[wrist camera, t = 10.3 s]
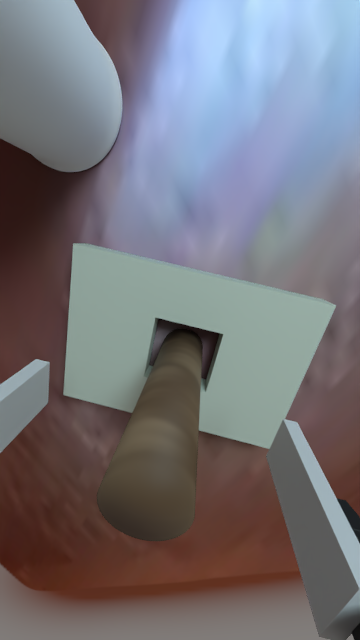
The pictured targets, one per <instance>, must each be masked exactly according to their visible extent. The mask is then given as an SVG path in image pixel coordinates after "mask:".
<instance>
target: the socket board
mask: <svg viewBox="0 0 360 640" xmlns="http://www.w3.org/2000/svg"><path fill="white" fill-rule="evenodd" d="M335 307H336V305H334V304H332V303H330V302H327V301H325V300H323V299H319V298H315V297H311V296H306V295H302V294H298V293H294V292H289V291H285V290H281V289H277V288H273V287H268V286H264V285H260V284H256V283H251V282H247V281H243V280H239V279H234V278H230V277H226V276H222V275H218V274H213V273H209V272H205V271H201V270H196V269H192V268H188V267H184V266H179V265H175V264H171V263H167V262H162V261H158V260H154V259H150V258H146V257H141V256H137V255H133V254H129V253H124V252H120V251H116V250H112V249H107V248H103V247H99V246H95V245H90V244H86V243H82V244H73V256H72V272H71V287H70V302H69V317H68V333H67V348H66V363H65V378H64V394H63V395H65V396H69V397H73V398H77V399H81V400H84V401H88V402H92V403H96V404H100V405H104V406H107V407H111V408H115V409H119V410H123V411H127V412H130V413H132V412H133V410H134V408H135V406H136V403H137V401H138V399H139V397H140V394H141V392H142V390H143V388H144V385H145V383H146V381H147V379H148V376H149V374H150V372H151V370H152V367H153V366H150V365H149V364H150V359H151V354H152V349H153V344H154V339H155V334H156V329H157V324H158V319H159V318H160V319H164V320H168V321H172V322H176V323H180V324H184V325H188V326H192V327H196V328H200V329H205V330H209V331H213V332H217V333H220V334H219V338H218V341H217V345H216V348H215V351H214V355H213V358H212V361H211V365H210V368H209V372H208V375H207V378H206V379H202V378H201V392H200V413H199V431H203V432H207V433H211V434H215V435H218V436H222V437H226V438H230V439H234V440H238V441H241V442H245V443H249V444H253V445H257V446H260V447H264V448H268V449H270V447H271V445H272V442H273V440H274V438H275V436H276V434H277V431H278V429H279V427H280V425H281V423H282V420H283V419H285V417H286V415H287V413H288V411H289V409H290V406H291V404H292V402H293V400H294V398H295V395H296V393H297V391H298V389H299V387H300V384H301V382H302V380H303V378H304V376H305V373H306V371H307V369H308V367H309V364H310V362H311V360H312V358H313V356H314V353H315V351H316V349H317V347H318V345H319V342H320V340H321V338H322V336H323V334H324V331H325V329H326V327H327V325H328V323H329V320H330V318H331V316H332V314H333V312H334V309H335Z"/></svg>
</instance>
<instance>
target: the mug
mask: <svg viewBox="0 0 360 640" xmlns="http://www.w3.org/2000/svg"><path fill="white" fill-rule="evenodd" d="M121 119H122V92H121V86H120V82H119V78H118V75H117V72H116V69H115V67H114V64H113V62H112V60H111V58H110V57H109V55H108V53H107V52H106V50H105V49H104V47H103V46H102V45H101V43H100V42H99V41H98V40H97V39H96V38H95V37H94V35H93V33H92V32H91V30H90V28H89V26H88V25H87V23H86V21H85V19H84V17H83V16H82V14H81V12H80V10H79V8H78V7H77V5H76V3H75V1H74V0H0V139H2V140H4V141H6V142H8V143H10V144H12V145H14V146H16V147H18V148H20V149H22V150H24V151H26V152H28V153H30V154H32V155H33V156H34V157H35V158H36V159H37V160H39V161H40V162H42V163H43V164H45V165H46V166H48V167H50V168H53V169H55V170H59V171H63V172H79V171H83V170H86V169H89V168H91V167H93V166H94V165H96V164H97V163H99V162H100V161H101V160H102V159H103V158H104V157H105V156H106V155H107V153H108V152H109V151H110V149H111V148H112V146H113V144H114V142H115V140H116V138H117V135H118V132H119V129H120V125H121Z"/></svg>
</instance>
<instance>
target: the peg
mask: <svg viewBox="0 0 360 640" xmlns="http://www.w3.org/2000/svg"><path fill="white" fill-rule="evenodd" d="M202 350H203V345H202V341H201V339H200V337H199V336H198V335H197V334H196V333H195V332H193V331H191V330H189V329H184V328H181V329H176V330H173V331H172V332H170V333H169V334H168V335H167V336H166V338H165V340H164V342H163V345H162V347H161V349H160V351H159V354H158V356H157V358H156V361H155V363H154V365H153V367H152V370H151V372H150V374H149V376H148V379H147V381H146V383H145V385H144V388H143V390H142V392H141V394H140V397H139V399H138V401H137V403H136V406H135V408H134V410H133V412H132V415H131V417H130V419H129V422H128V424H127V426H126V428H125V431H124V433H123V435H122V437H121V440H120V442H119V444H118V446H117V449H116V451H115V453H114V455H113V458H112V460H111V462H110V464H109V467H108V469H107V471H106V473H105V476H104V478H103V480H102V483H101V485H100V487H99V489H98V493H97V503H98V507H99V509H100V511H101V513H102V515H103V516H104V518H105V519H106V520H107V521H108V522H109V523H110V524H111V525H112V526H113V527H115V528H116V529H118V530H119V531H121V532H123V533H124V534H126V535H129V536H131V537H134V538H137V539H142V540H147V541H164V540H169V539H173V538H176V537H178V536H180V535H182V534H183V533H185V532H186V531H187V530H188V529H189V528H190V526H191V525H192V523H193V520H194V516H195V497H196V476H197V455H198V434H199V413H200V392H201V371H202Z"/></svg>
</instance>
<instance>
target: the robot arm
mask: <svg viewBox="0 0 360 640" xmlns="http://www.w3.org/2000/svg"><path fill="white" fill-rule="evenodd" d="M49 364H50V362H46V361H42V360H38V359H36V360H34V361H33V362H31V363H30V364H29V365H27V366H26V367H24V368H23V369H22V370H20V371H19V372H17V373H16V374H15V375H13V376H12V377H10V378H9V379H8V380H6V381H5V382H3V383H2V384H1V385H0V453H1V452H2V451H3V449H4V448H5V447H6V446H7V445H8V444H9V443H10V442H11V441H12V440H13V439H14V438H15V437H16V436H17V435H18V434H19V433H20V432H21V431H22V430H23V428H24V427H25V426H26V425H27V424H28V423H29V422H30V421H31V420H32V419H33V418H34V417H35V416H36V415H37V414H38V413H39V412H40V411H41V410H42V409H43V407H44V406H45V405H46V404H47V403H48V391H49ZM266 457H267V460H268V464H269V467H270V471H271V474H272V477H273V481H274V484H275V488H276V491H277V495H278V498H279V501H280V505H281V508H282V512H283V515H284V518H285V522H286V525H287V529H288V532H289V535H290V539H291V542H292V546H293V549H294V552H295V556H296V559H297V563H298V566H299V570H300V573H301V576H302V580H303V583H304V586H305V590H306V593H307V597H308V600H309V604H310V606H311V610H312V614H313V617H314V621H315V624H316V627H317V631H318V634H319V637H323V638H327V639H331V640H346V639H347V638H348V637H349V636H350V635H351V634H352V635H353V637H354V640H360V518H359V516H358V515H357V513H356V512H355V511H354V510H353V509H352V507H351V506H350V505H349V504H348V503H347V502H346V501H345V500H341V499H337V498H336V497H335V495H334V493H333V491H332V489H331V487H330V485H329V483H328V481H327V479H326V477H325V475H324V474H323V472H322V470H321V468H320V466H319V464H318V462H317V460H316V458H315V456H314V454H313V452H312V450H311V448H310V446H309V444H308V443H307V441H306V439H305V437H304V435H303V433H302V431H301V429H300V427H299V425H298V423H297V422H294V421H290V420H285V419H283V420H282V423H281V425H280V427H279V429H278V431H277V434H276V436H275V438H274V440H273V442H272V445H271V447H270V449H269V451H268V453H267V456H266Z"/></svg>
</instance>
